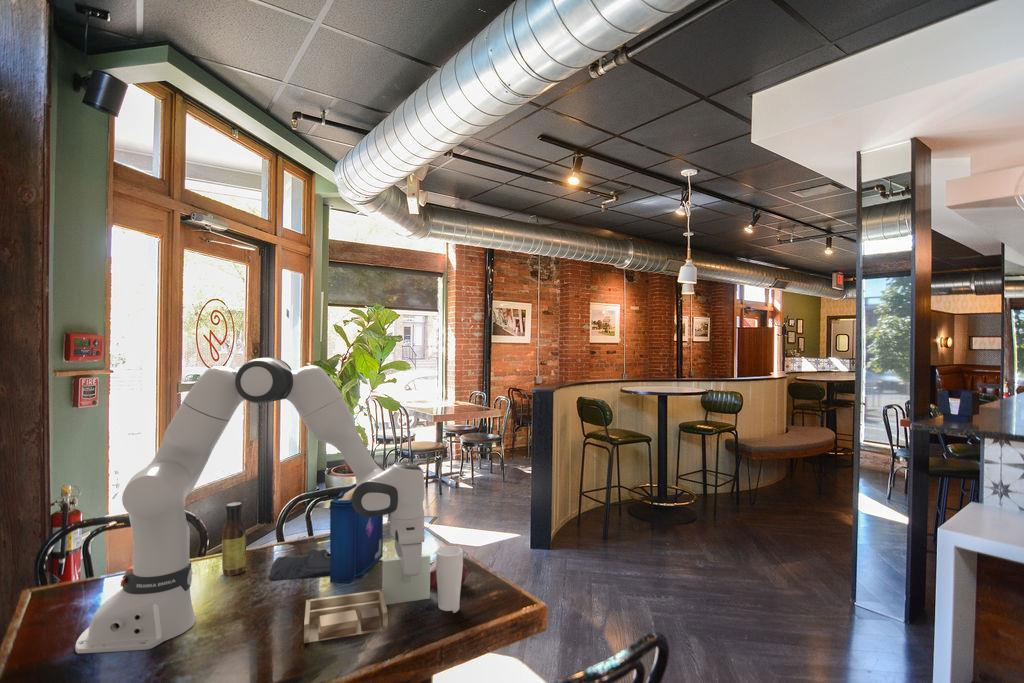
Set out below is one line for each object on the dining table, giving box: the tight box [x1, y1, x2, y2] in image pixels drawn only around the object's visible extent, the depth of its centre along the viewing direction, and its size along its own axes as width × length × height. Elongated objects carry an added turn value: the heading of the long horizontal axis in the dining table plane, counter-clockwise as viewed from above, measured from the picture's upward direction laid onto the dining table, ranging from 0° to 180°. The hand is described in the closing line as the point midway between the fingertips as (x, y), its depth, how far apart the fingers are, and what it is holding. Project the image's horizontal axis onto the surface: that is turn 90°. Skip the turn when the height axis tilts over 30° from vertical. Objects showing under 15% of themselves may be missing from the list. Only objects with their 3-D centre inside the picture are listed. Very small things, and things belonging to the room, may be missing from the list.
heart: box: [430, 559, 469, 590], centre depth 148 cm, size 12×8×10 cm
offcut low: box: [318, 623, 356, 639], centre depth 121 cm, size 8×5×2 cm, turn 109°
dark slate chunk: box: [268, 549, 330, 582], centre depth 159 cm, size 15×22×5 cm
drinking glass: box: [435, 545, 464, 614], centre depth 134 cm, size 7×7×15 cm
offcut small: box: [361, 608, 380, 631], centre depth 124 cm, size 4×4×3 cm
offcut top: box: [319, 610, 358, 633], centre depth 121 cm, size 8×5×2 cm, turn 113°
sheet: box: [381, 553, 431, 606], centre depth 137 cm, size 12×2×11 cm, turn 109°
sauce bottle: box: [221, 501, 247, 577], centre depth 155 cm, size 7×6×20 cm
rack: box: [303, 589, 389, 644], centre depth 125 cm, size 18×12×5 cm, turn 109°
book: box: [329, 483, 384, 584], centre depth 156 cm, size 22×7×25 cm, turn 169°
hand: (406, 579), depth 137 cm, fingers closed on sheet, 2 cm apart
